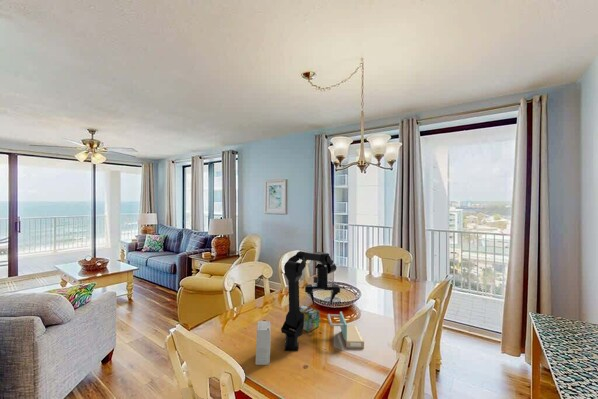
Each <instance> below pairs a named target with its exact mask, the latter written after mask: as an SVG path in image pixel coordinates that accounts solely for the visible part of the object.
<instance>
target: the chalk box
mask: <svg viewBox="0 0 598 399" xmlns="http://www.w3.org/2000/svg"><path fill="white" fill-rule="evenodd" d="M299 309H300V312H302V313H304V326H303V331H305V332H308V333H310V332H312V331H313V330H316V329H318V327H320V322H322V319H320V310H319V309H316V308H313V307H310V306H308V305H305V304H304V305H303V304H302V305H301V306H300V305H299Z"/></svg>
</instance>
